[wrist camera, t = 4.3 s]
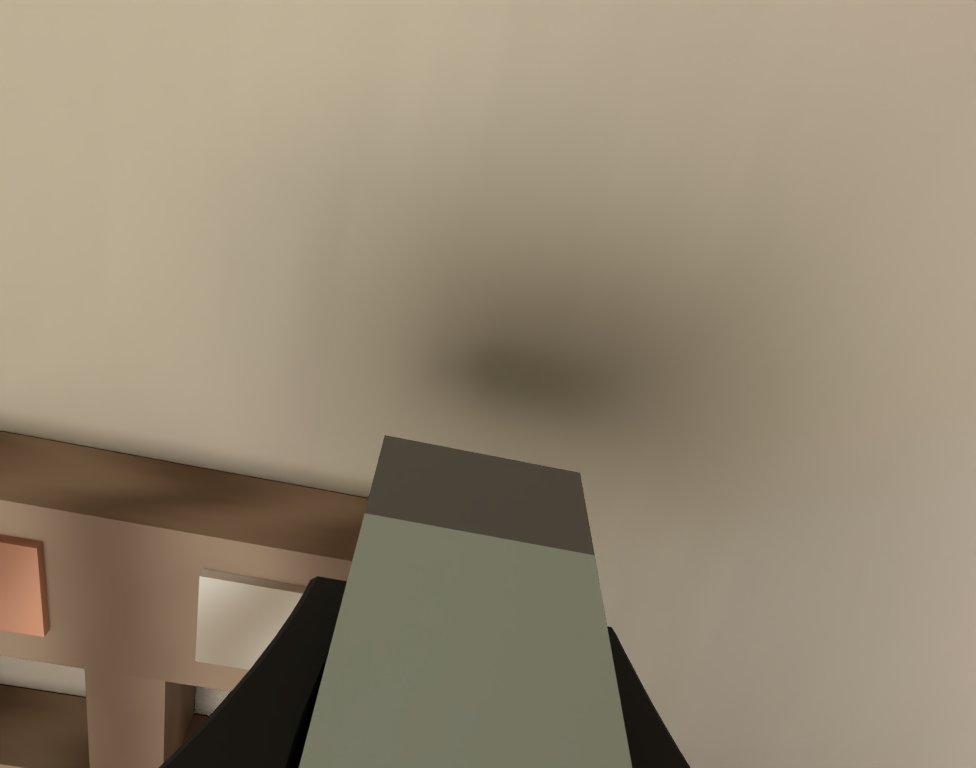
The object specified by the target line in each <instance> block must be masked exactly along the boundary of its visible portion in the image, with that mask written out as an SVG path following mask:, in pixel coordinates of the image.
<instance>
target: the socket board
mask: <svg viewBox="0 0 976 768" xmlns="http://www.w3.org/2000/svg"><path fill="white" fill-rule="evenodd" d="M367 502H368V498H362V497H357V496H351V495H346V494H340V493H335V492H330V491H324V490H319V489H313V488H308V487H302V486H297V485H291V484H286V483H280V482H275V481H269V480H264V479H259V478H253V477H248V476H242V475H237V474H231V473H226V472H220V471H215V470H209V469H204V468H198V467H193V466H188V465H182V464H177V463H171V462H166V461H160V460H155V459H149V458H144V457H138V456H133V455H127V454H122V453H117V452H111V451H106V450H100V449H95V448H89V447H84V446H78V445H73V444H67V443H62V442H56V441H51V440H46V439H40V438H35V437H29V436H24V435H18V434H13V433H7V432H2V431H0V656H7V657H13V658H20V659H26V660H32V661H39V662H45V663H51V664H58V665H64V666H71V667H77V668H83V669H85V681H86V698H84V697H77V696H71V695H64V694H57V693H51V692H44V691H38V690H31V689H25V688H18V687H12V686H5V685H0V768H159V767H160V766H161V765H162V764H163V763H164V762H165V761H166V760H167V759H168V758H169V757H170V756H171V755H172V754H173V753H174V752H175V751H176V750H177V749H178V748H179V747H180V746H181V745H182V744H183V743H184V742H185V741H186V740H187V739H188V738H189V737H190V736H191V735H192V734H193V733H194V732H195V731H196V730H197V729H198V728H199V727H200V726H201V725H202V724H203V723H204V721H205V720H206V719H207V718H208V716H201V715H195V714H194V704H195V686H198V687H205V688H211V689H218V690H224V691H230V692H231V691H232V690H233V689H234V688H235V686H236V685H237V684H238V683H239V682H240V681H241V679H242V678H243V677H244V676H245V675H246V673H247V672H248V671H249V670H250V669H251V667H252V666H253V665H254V663H255V662H256V661H257V660H258V658H259V657H260V656H261V654H262V653H263V652H264V650H265V649H266V648H267V646H268V645H269V644H270V642H271V641H272V640H273V639H274V637H275V636H276V635H277V633H278V632H279V630H280V629H281V627H282V626H283V624H284V623H285V622H286V620H287V619H288V617H289V616H290V614H291V613H292V611H293V610H294V608H295V606H296V605H297V603H298V601H299V600H300V598H301V596H302V595H303V593H304V591H305V589H306V587H307V585H308V583H309V581H310V580H311V579H313V578H315V577H317V576H320V577H326V578H331V579H337V580H343V581H347V580H348V576H349V572H350V568H351V564H352V560H353V557H354V553H355V549H356V545H357V541H358V537H359V533H360V529H361V526H362V522H363V518H364V514H365V510H366V506H367Z"/></svg>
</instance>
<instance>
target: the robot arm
mask: <svg viewBox="0 0 976 768" xmlns="http://www.w3.org/2000/svg"><path fill="white" fill-rule="evenodd" d="M346 584H347V581H343V580H337V579H331V578H326V577H320V576H317V577H315V578H313V579H311V580H310V581H309V583H308V585H307V587H306V589H305V591H304V593H303V595H302V596H301V598H300V600H299V601H298V603H297V605H296V606H295V608H294V610H293V611H292V613H291V614H290V616H289V617H288V619H287V620H286V622H285V623H284V624H283V626H282V627H281V629H280V630H279V632H278V633H277V635H276V636H275V637H274V639H273V640H272V641H271V642H270V644H269V645H268V646H267V648H266V649H265V650H264V652H263V653H262V654H261V656H260V657H259V658H258V660H257V661H256V662H255V663H254V665H253V666H252V667H251V669H250V670H249V671H248V672H247V673H246V675H245V676H244V677H243V678H242V679H241V681H240V682H239V683H238V684H237V685H236V686H235V688H234V689H233V690H232V691H231V692H230V693H229V694H228V696H227V697H226V698H225V699H224V700H223V701H222V703H221V704H220V705H219V706H218V707H217V708H216V710H215V711H214V712H213V713H212V714H211V715H210V716H209V717H208V718H207V719H206V720H205V721H204V723H203V724H202V725H201V726H200V727H199V728H198V729H197V730H196V731H195V732H194V733H193V734H192V735H191V736H190V737H189V738H188V739H187V740H186V741H185V742H184V743H183V744H182V745H181V746H180V747H179V748H178V749H177V750H176V751H175V752H174V753H173V754H172V755H171V756H170V757H169V758H168V759H167V760H166V761H165V762H164V763H163V764H162V765H161V766H160V767H159V768H299V765H300V761H301V757H302V753H303V750H304V746H305V742H306V738H307V734H308V730H309V726H310V723H311V719H312V715H313V711H314V707H315V703H316V699H317V696H318V692H319V688H320V684H321V680H322V676H323V672H324V668H325V665H326V661H327V657H328V653H329V649H330V645H331V641H332V638H333V634H334V630H335V626H336V622H337V618H338V614H339V611H340V607H341V603H342V599H343V595H344V591H345V587H346ZM607 629H608V634H609V640H610V646H611V651H612V657H613V662H614V668H615V674H616V679H617V685H618V691H619V696H620V702H621V708H622V713H623V719H624V724H625V730H626V736H627V741H628V747H629V753H630V758H631V764H632V768H690V766H689V765H688V763H687V762H686V760H685V758H684V757H683V755H682V753H681V752H680V750H679V749H678V747H677V745H676V744H675V742H674V740H673V738H672V737H671V735H670V733H669V732H668V730H667V728H666V726H665V725H664V723H663V721H662V719H661V718H660V716H659V714H658V713H657V711H656V709H655V707H654V705H653V704H652V702H651V700H650V698H649V696H648V695H647V693H646V691H645V689H644V687H643V685H642V683H641V682H640V680H639V678H638V676H637V674H636V672H635V670H634V668H633V666H632V664H631V663H630V661H629V659H628V657H627V655H626V653H625V651H624V649H623V647H622V645H621V643H620V641H619V639H618V637H617V635H616V633H615V632H614V630H613V629H612V627H607Z"/></svg>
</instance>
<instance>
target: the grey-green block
mask: <svg viewBox="0 0 976 768" xmlns="http://www.w3.org/2000/svg"><path fill="white" fill-rule="evenodd" d="M299 768H632V764H631V758H630V753H629V747H628V741H627V736H626V730H625V724H624V719H623V713H622V708H621V702H620V696H619V691H618V685H617V679H616V674H615V668H614V662H613V657H612V651H611V646H610V640H609V634H608V629H607V623H606V617H605V612H604V606H603V600H602V595H601V589H600V583H599V578H598V572H597V567H596V561H595V555H594V550H593V544H592V538H591V533H590V527H589V521H588V516H587V510H586V505H585V499H584V493H583V488H582V482H581V476H580V473H577V472H572V471H567V470H562V469H556V468H551V467H546V466H541V465H536V464H531V463H525V462H520V461H515V460H510V459H505V458H500V457H494V456H489V455H484V454H479V453H474V452H469V451H463V450H458V449H453V448H448V447H443V446H437V445H432V444H427V443H422V442H417V441H412V440H406V439H401V438H396V437H391V436H386V435H385V437H384V441H383V445H382V448H381V452H380V456H379V460H378V464H377V468H376V472H375V475H374V479H373V483H372V487H371V491H370V495H369V499H368V502H367V506H366V510H365V514H364V518H363V522H362V526H361V529H360V533H359V537H358V541H357V545H356V549H355V553H354V557H353V560H352V564H351V568H350V572H349V576H348V580H347V584H346V587H345V591H344V595H343V599H342V603H341V607H340V611H339V614H338V618H337V622H336V626H335V630H334V634H333V638H332V641H331V645H330V649H329V653H328V657H327V661H326V665H325V668H324V672H323V676H322V680H321V684H320V688H319V692H318V696H317V699H316V703H315V707H314V711H313V715H312V719H311V723H310V726H309V730H308V734H307V738H306V742H305V746H304V750H303V753H302V757H301V761H300V765H299Z"/></svg>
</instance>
